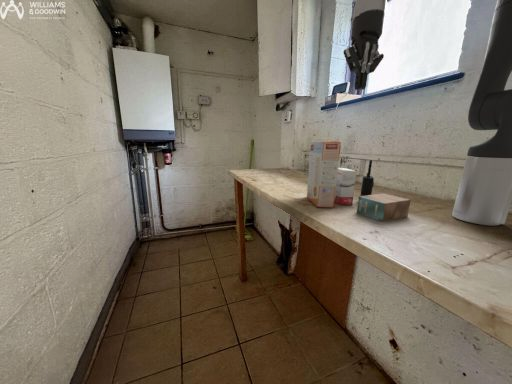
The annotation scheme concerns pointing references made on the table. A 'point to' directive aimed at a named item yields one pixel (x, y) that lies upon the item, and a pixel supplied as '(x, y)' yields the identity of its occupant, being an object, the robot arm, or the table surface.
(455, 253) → the table surface
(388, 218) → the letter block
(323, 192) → the cracker box
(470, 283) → the table surface
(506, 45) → the robot arm
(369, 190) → the walkie-talkie
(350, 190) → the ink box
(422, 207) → the table surface
